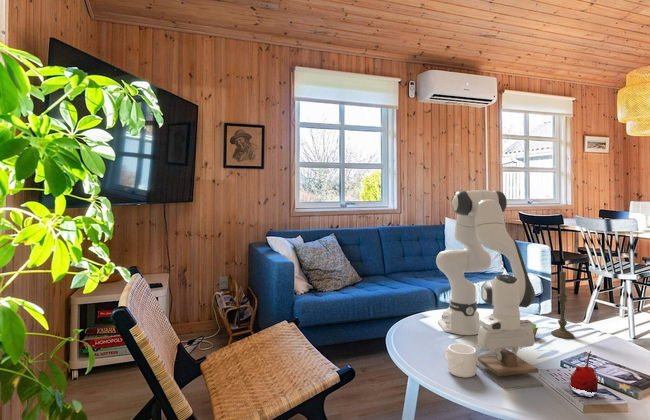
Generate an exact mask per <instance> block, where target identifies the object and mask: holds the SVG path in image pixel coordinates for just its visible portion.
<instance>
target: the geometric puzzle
mask: <svg viewBox="0 0 650 420" xmlns="http://www.w3.org/2000/svg"><path fill="white" fill-rule="evenodd" d="M538 330H539V327H537V324H535V323H533V333H534V338H536V337H538V335H537V334H540V331H538ZM538 332H539V333H538ZM536 335H537V336H536Z"/></svg>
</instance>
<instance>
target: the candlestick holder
mask: <svg viewBox="0 0 650 420" xmlns="http://www.w3.org/2000/svg"><path fill="white" fill-rule="evenodd" d="M566 274H567V273H566V271H564V270H562V271H559V293H558V294H557V297H558V302H559V303H560V304H559V305H560V306H559V309H560V318H559V319H558V320H557V323H558V325H559V328H556V329H554V330H551V332H550V334H551V336H553V337H556V338H560V339H564V338H565V339H566V340H567V339H568V340H569V339H573V338H575V334H574V333H572V332H570V330H567V329H566V326H567V323H568V321H567V320H566V319H565V309H566V304H565V303H566V302H568V301H567V300H568V299H567V298H568V295H567V294H566V284H567V283H566ZM565 339H564V340H565Z"/></svg>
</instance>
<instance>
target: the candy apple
mask: <svg viewBox="0 0 650 420" xmlns="http://www.w3.org/2000/svg"><path fill="white" fill-rule="evenodd" d="M585 353H586V354H587V360H585V361H586V364H585V366H579V365H578V366H576V367H575V370H574V371H573V372H572V374H571V375H570V377H569V380H570V382H569V386H570V385H571V386H572V387H574V388H576V389H580V390H585V391H587V392H591V393H592V392H597V391H598V384H599V381H598V377H597V375H596V373H595V370H594V367H592V366H589V362H590V358H593V359H597V355H596V354H595V355H592V354H591V353H592V351H591V350H590V351H589V352H587V351H585ZM597 393H598V392H597Z"/></svg>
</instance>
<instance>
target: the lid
mask: <svg viewBox="0 0 650 420" xmlns="http://www.w3.org/2000/svg"><path fill="white" fill-rule="evenodd" d="M500 353H501V354H502V355H504V360H498V358H497V355H489V356H488V355H487V356H486V355H485V356H476V361H479V362H480V363H482V364H483V365H484V366H486V367H487V368H488V369H489V370H491V371H492V372H493V373H495V374H496V375H497V376H505V375H516V374H537V373H539V368H538V367H536V366H534V365H532V364H531V363H529V362H528V361H526V360H525V359H523V358H521V357H519V356H518V355H517V354H516V355H515V354H514V353H512V352H511V351H510V350H509V349H508V348H502V349H501V351H500Z"/></svg>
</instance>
